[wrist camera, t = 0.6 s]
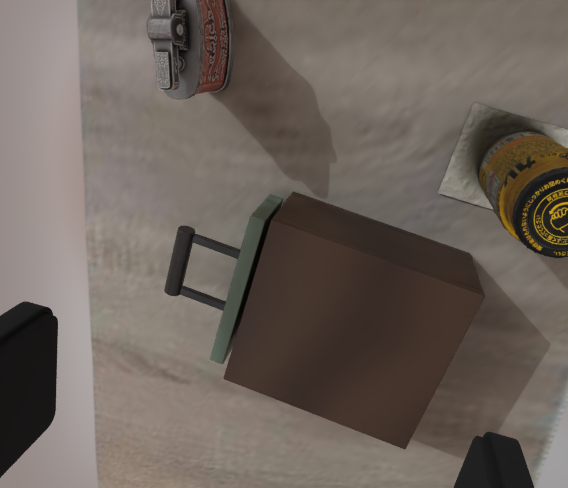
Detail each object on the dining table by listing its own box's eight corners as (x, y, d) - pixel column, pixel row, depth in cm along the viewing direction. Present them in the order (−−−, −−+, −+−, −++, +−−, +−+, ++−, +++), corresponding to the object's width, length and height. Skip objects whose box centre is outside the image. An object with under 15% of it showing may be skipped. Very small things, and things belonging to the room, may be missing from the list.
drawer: (176, 302, 49) (147, 335, 43) (207, 171, 44) (178, 190, 38) (377, 378, 47) (374, 423, 41) (435, 252, 42) (441, 284, 36)
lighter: (191, -18, 39) (127, -39, 30) (233, -18, 39) (181, -40, 30) (195, 91, 42) (138, 101, 33) (234, 92, 42) (188, 104, 32)
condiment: (542, 224, 40) (596, 289, 29) (437, 192, 41) (451, 243, 30) (587, 134, 37) (665, 169, 26) (473, 102, 38) (503, 122, 27)
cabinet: (249, 329, 49) (223, 379, 42) (293, 191, 43) (271, 219, 36) (404, 388, 48) (405, 449, 40) (470, 253, 42) (485, 296, 35)
